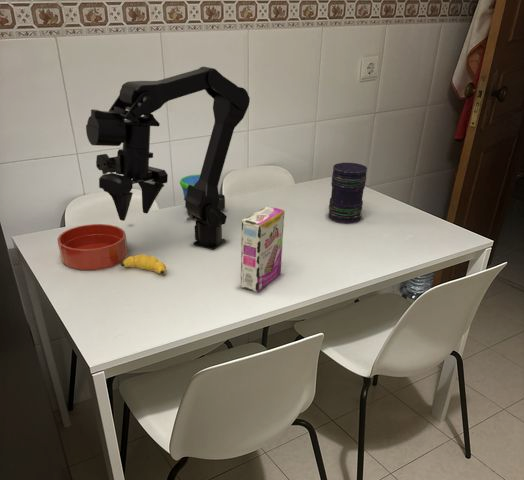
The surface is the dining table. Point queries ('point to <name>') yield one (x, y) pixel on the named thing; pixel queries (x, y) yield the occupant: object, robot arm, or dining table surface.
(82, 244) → the bowl
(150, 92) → the robot arm
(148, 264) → the banana
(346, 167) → the storage jar
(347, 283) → the dining table surface
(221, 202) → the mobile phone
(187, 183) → the snack cup
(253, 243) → the candy bar box
